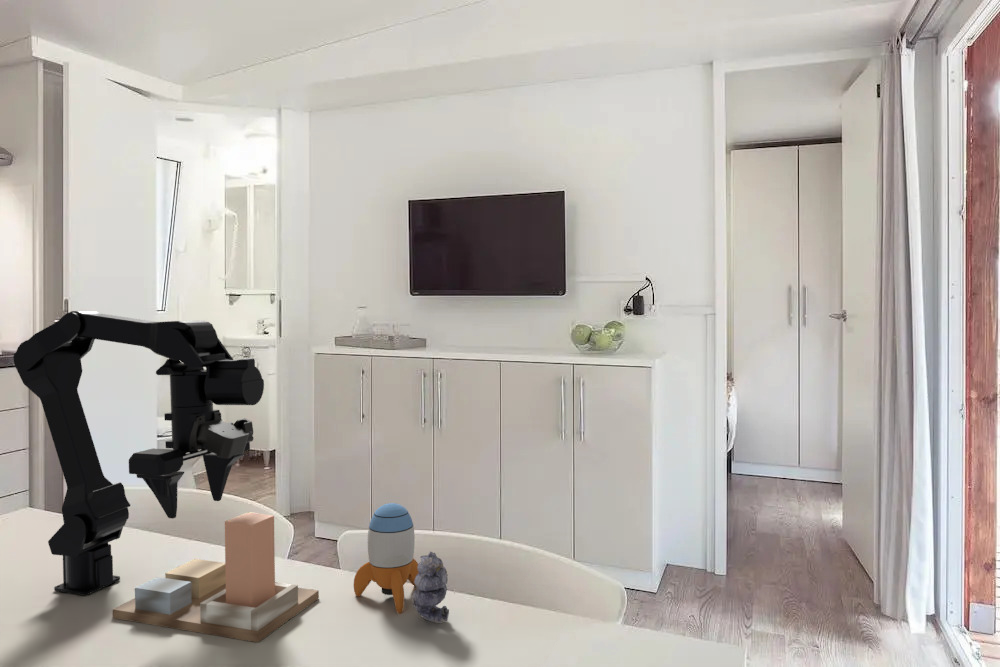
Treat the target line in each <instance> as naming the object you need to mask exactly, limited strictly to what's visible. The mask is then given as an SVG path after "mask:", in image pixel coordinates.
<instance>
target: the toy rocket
mask: <svg viewBox="0 0 1000 667" xmlns="http://www.w3.org/2000/svg"><path fill="white" fill-rule="evenodd" d="M415 538H416V536H415V527H414V522H413V519H412V517H411V515H410V513H409V511H408V510H407V508H406V507H404V506H403V505H402V504H399V503H395V502H390V503H385V504H383V505H381V506H379V507H378V508H377V509H376V510H375V511H374V512H373V515H372V517H371V519H370V522H369V525H368V530H367V557H368V562H366V563H364V564H363V565H361V566H360V567H359V568H358V570H356V573H355V576H354V579H353V591H354V594H355V597H358V598H360V597H361V596H362V595H363V593H364V591H366V589H367V587H368V586H369V584H371V582H374V583H375V584H376V585H377V586H378V587H379V588H381V593H382V594H384V595H386V596H392V597H393V601H394V602H393V603H394V606H395V607H394V608H395V611H396V612H397V613H398V614H402V613H403V612H404V606H405V589H404V585H405V584H406V583H407V581H409V583H411V585H412V586H413V585H414V586H413V587H414V588H417V587H416V586H415V584H414V581H415V577H416V575H417V574H418V573H419V572H418V564H419V562H418V561H417V560H416V559H415V558H414V554H415Z"/></svg>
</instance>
